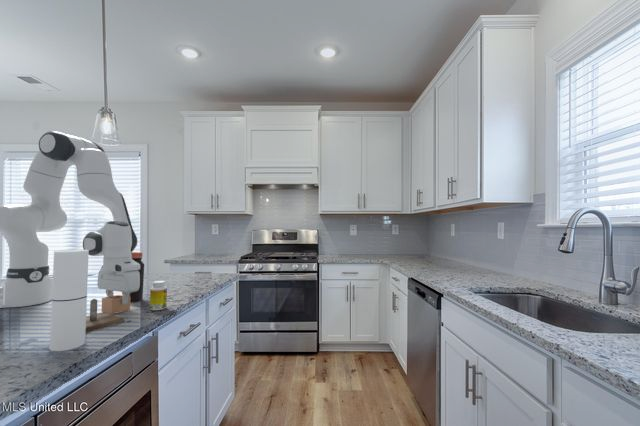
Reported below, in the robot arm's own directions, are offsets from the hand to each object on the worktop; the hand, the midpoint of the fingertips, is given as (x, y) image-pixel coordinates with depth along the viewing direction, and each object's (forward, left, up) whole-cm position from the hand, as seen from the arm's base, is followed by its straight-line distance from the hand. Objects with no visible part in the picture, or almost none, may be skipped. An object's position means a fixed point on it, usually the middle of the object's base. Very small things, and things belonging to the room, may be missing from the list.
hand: (117, 302), depth 110 cm
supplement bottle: (+11, +8, -3) cm, 14 cm away
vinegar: (-9, +11, -3) cm, 15 cm away
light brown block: (0, -1, -3) cm, 3 cm away
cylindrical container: (+21, -25, -3) cm, 32 cm away
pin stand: (+9, -13, -3) cm, 16 cm away
